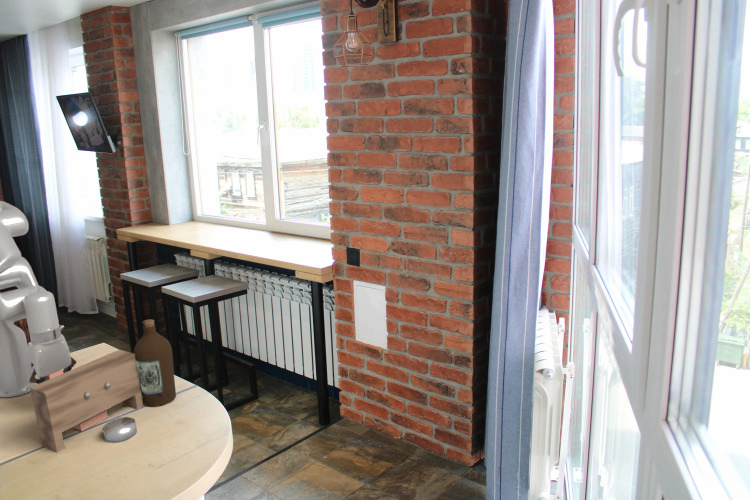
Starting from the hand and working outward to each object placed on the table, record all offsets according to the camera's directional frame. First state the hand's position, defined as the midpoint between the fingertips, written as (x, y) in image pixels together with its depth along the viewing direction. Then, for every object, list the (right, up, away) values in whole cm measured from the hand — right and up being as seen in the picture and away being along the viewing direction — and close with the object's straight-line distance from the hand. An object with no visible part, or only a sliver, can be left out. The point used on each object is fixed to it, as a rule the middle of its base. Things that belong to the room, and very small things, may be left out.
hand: (56, 392), depth 167 cm
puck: (+24, -8, -13) cm, 29 cm away
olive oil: (+28, -3, +5) cm, 29 cm away
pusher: (+7, -6, -2) cm, 9 cm away
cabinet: (+15, -7, -7) cm, 18 cm away
